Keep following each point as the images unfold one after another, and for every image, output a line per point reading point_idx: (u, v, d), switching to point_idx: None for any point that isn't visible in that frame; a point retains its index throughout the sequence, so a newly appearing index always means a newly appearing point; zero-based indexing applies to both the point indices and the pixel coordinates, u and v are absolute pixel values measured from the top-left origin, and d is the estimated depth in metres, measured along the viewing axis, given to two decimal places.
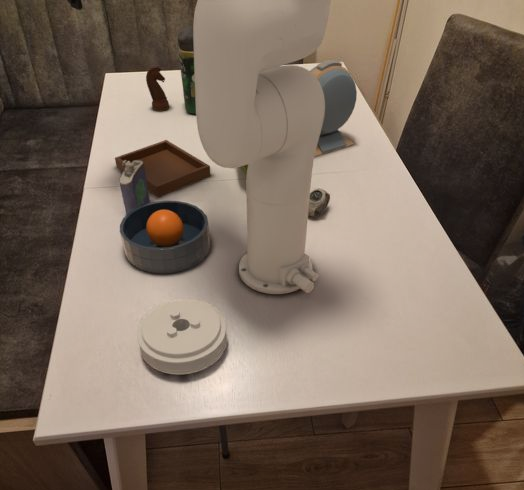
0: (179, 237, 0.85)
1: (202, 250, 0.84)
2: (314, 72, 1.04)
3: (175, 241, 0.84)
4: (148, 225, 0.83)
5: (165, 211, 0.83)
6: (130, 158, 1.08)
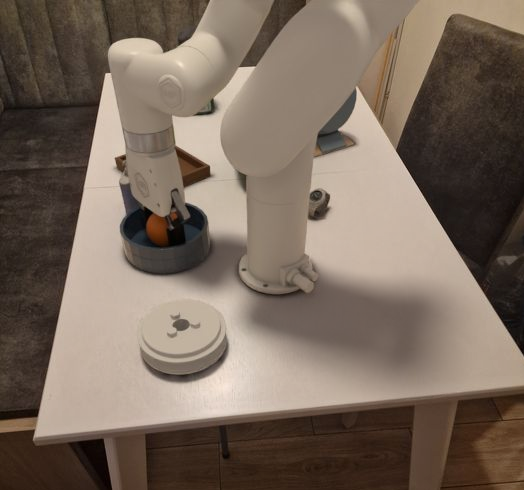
0: None
1: (202, 250, 0.84)
2: None
3: None
4: (148, 225, 0.83)
5: None
6: None
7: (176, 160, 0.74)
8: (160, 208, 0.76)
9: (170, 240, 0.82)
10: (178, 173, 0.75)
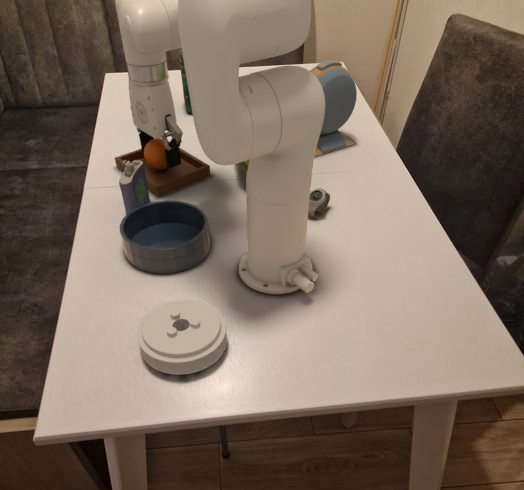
0: None
1: (202, 250, 0.84)
2: (314, 72, 1.04)
3: None
4: (144, 150, 1.02)
5: None
6: (130, 158, 1.08)
7: (169, 90, 0.92)
8: (156, 131, 0.95)
9: (168, 160, 1.00)
10: (171, 101, 0.93)
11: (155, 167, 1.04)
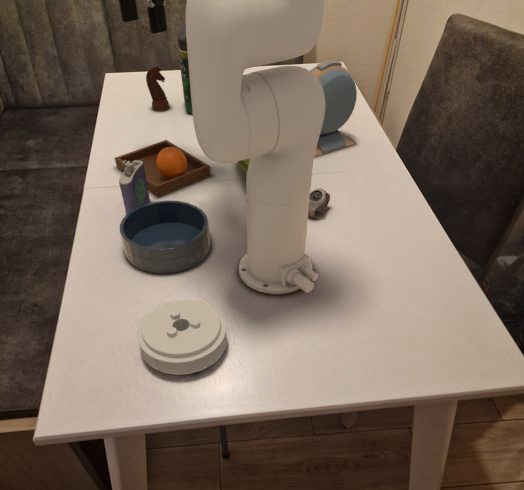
0: None
1: (202, 250, 0.84)
2: (314, 72, 1.04)
3: None
4: (163, 166, 0.99)
5: (181, 166, 1.00)
6: (130, 158, 1.08)
7: None
8: None
9: (151, 22, 0.86)
10: None
11: None
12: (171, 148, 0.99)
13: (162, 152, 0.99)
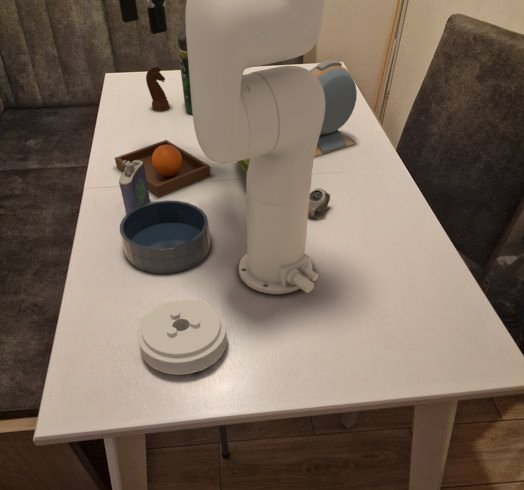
0: None
1: (202, 250, 0.84)
2: (314, 72, 1.04)
3: None
4: (157, 162, 1.00)
5: (174, 156, 1.00)
6: (130, 158, 1.08)
7: None
8: None
9: (151, 22, 0.86)
10: None
11: None
12: (162, 145, 1.01)
13: None
